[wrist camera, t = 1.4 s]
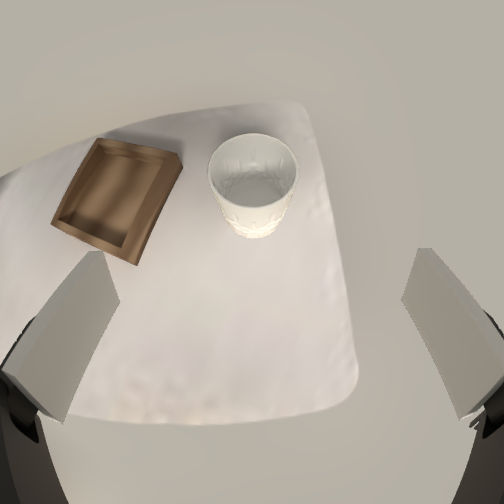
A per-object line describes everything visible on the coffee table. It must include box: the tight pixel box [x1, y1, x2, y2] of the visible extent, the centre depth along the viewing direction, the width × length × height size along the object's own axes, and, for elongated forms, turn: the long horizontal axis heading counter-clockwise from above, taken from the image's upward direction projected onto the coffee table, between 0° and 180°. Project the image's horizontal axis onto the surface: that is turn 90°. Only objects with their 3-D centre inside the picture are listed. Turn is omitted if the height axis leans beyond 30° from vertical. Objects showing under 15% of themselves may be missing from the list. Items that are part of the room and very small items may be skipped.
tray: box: [51, 138, 183, 266], centre depth 31 cm, size 14×14×4 cm
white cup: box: [207, 133, 299, 238], centre depth 27 cm, size 8×8×10 cm
